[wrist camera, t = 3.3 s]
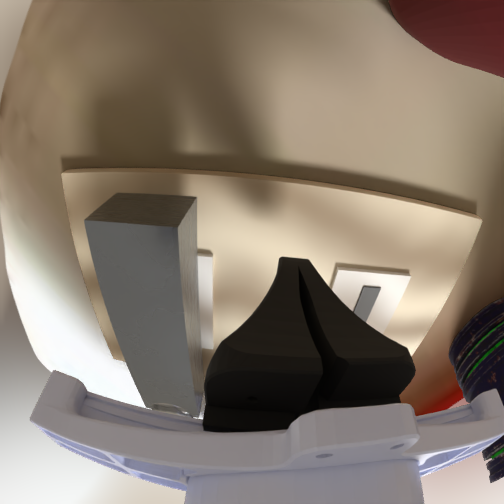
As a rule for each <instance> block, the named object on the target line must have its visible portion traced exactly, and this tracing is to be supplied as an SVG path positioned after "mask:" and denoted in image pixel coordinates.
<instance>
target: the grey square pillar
mask: <svg viewBox="0 0 504 504" xmlns="http://www.w3.org/2000/svg"><path fill="white" fill-rule="evenodd" d="M84 224H85V229H86V234H87V239H88V243H89V248H90V252H91V256H92V260H93V264H94V268H95V272H96V276H97V279H98V283H99V287H100V290H101V293H102V297H103V300H104V303H105V306H106V309H107V313H108V316H109V319H110V322H111V324H112V327H113V330H114V333H115V336H116V338H117V341H118V344H119V346H120V349H121V351H122V354H123V357H124V359H125V361H126V364H127V366H128V369H129V371H130V373H131V376H132V378H133V380H134V382H135V385H136V387H137V389H138V391H139V393H140V395H141V398H142V400H143V402H144V404H145V406H146V407H147V408H151V409H152V410H155V411H159V412H164V413H169V414H174V415H179V416H184V417H190V418H193V417H197V418H199V413H200V408H201V402H202V397H203V392H204V383H205V382H204V370H203V357H202V343H201V327H200V309H199V286H198V250H197V197H195V196H180V195H163V194H144V193H118V192H117V193H116V194H115V195H113V196H112V197H111V198H110V199H108V200H107V201H106V202H105V203H103V204H102V205H101V206H100V207H99V208H97V209H96V210H95V211H94V212H93V213H91V214H90V215H89V216H88V217H87V218H86V219H85V220H84Z"/></svg>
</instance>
